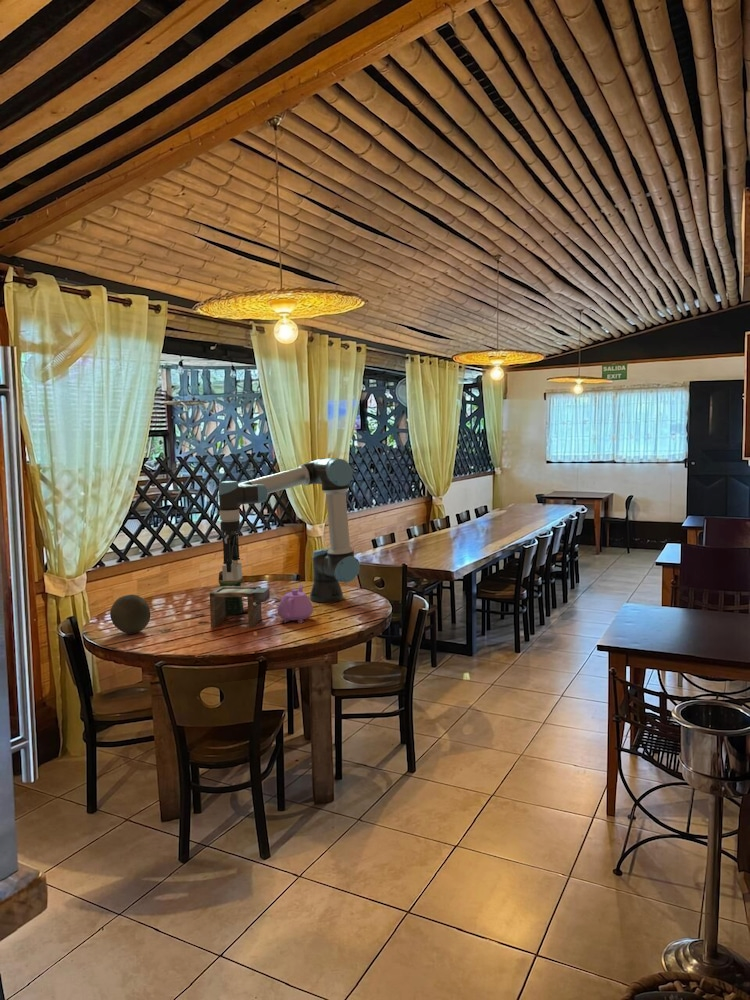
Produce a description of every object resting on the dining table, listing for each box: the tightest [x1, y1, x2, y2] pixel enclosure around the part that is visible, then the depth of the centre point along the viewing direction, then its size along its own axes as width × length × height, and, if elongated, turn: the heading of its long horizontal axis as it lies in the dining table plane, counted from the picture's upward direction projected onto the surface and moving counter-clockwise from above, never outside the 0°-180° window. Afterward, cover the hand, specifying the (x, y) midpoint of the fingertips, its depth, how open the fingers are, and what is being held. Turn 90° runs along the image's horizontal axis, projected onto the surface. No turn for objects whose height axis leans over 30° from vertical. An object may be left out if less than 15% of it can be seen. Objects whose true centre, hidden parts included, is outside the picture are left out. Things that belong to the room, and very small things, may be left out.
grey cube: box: [221, 562, 243, 581], centre depth 268 cm, size 6×6×6 cm
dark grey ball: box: [109, 594, 151, 635], centre depth 258 cm, size 14×14×15 cm
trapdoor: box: [219, 587, 270, 604], centre depth 270 cm, size 19×8×4 cm, turn 84°
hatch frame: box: [209, 585, 263, 628], centre depth 271 cm, size 17×13×14 cm
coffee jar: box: [217, 570, 244, 616], centre depth 286 cm, size 10×8×19 cm
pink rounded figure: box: [277, 584, 314, 624], centre depth 274 cm, size 20×14×12 cm
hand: (232, 578), depth 268 cm, fingers closed on grey cube, 6 cm apart
